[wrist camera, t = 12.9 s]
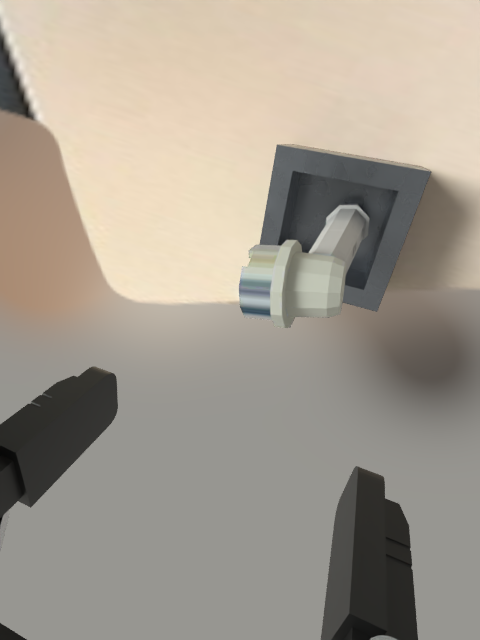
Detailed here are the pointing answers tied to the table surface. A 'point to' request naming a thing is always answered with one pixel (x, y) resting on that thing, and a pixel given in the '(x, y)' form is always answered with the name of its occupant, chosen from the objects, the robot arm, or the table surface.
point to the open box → (337, 189)
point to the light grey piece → (303, 272)
